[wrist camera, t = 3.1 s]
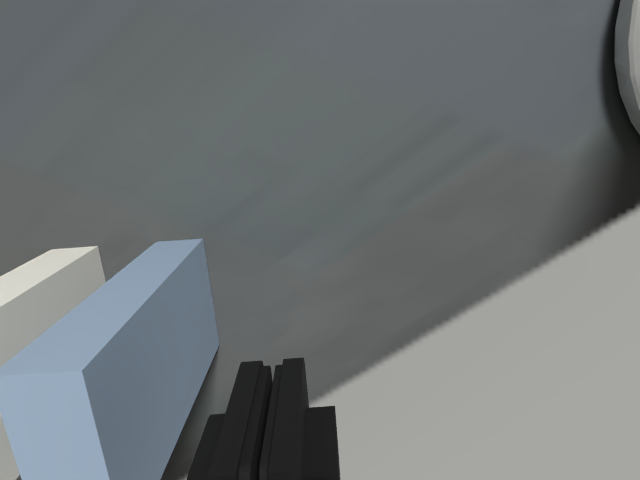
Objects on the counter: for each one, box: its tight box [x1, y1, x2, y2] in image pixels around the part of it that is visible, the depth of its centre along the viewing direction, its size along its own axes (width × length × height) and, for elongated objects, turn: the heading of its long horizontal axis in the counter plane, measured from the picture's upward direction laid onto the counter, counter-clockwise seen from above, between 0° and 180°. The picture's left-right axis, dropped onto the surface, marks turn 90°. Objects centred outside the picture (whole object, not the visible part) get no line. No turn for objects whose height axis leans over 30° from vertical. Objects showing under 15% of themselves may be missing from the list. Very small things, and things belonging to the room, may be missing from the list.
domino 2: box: [0, 239, 219, 480], centre depth 15 cm, size 2×5×10 cm, turn 5°
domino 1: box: [0, 246, 106, 480], centre depth 15 cm, size 2×5×10 cm, turn 5°
